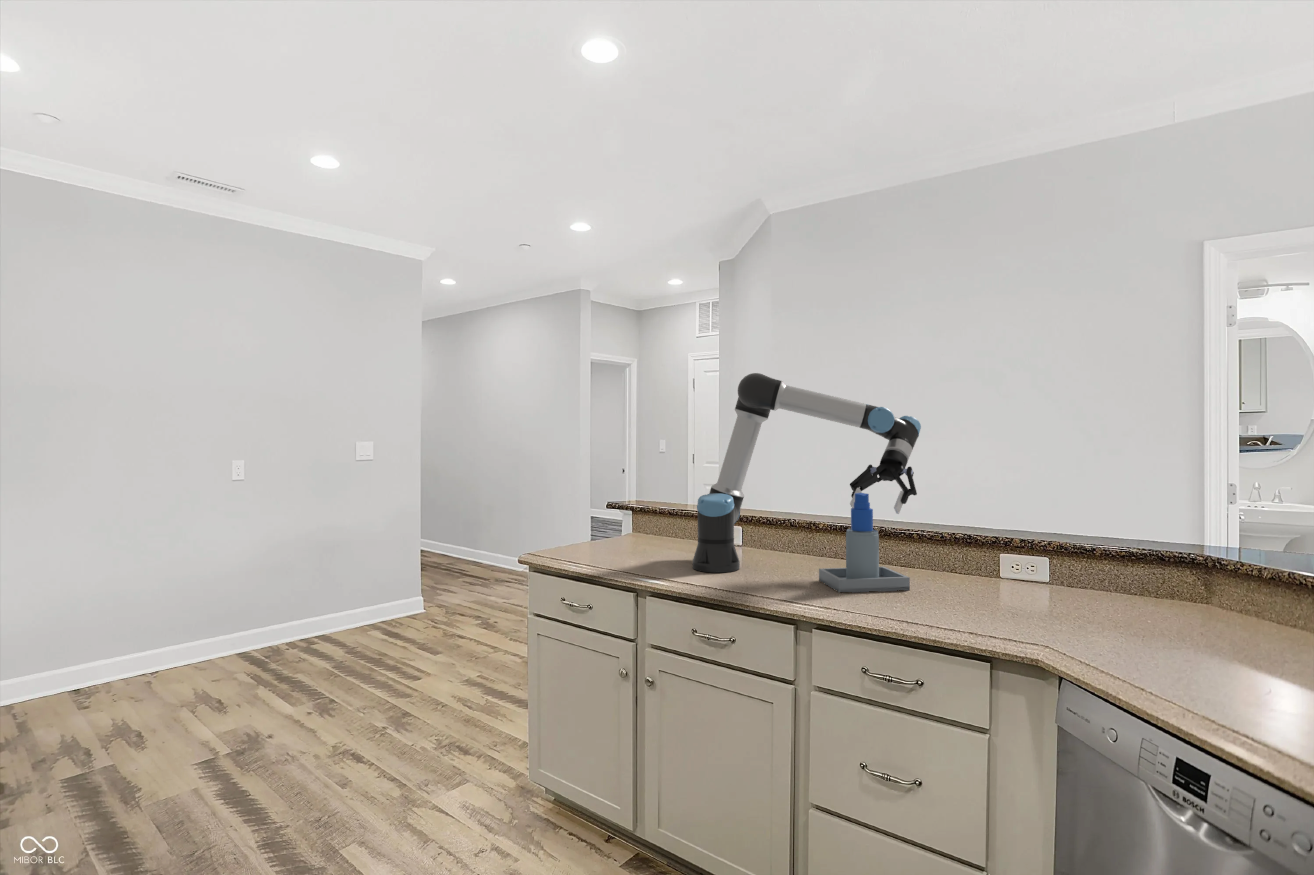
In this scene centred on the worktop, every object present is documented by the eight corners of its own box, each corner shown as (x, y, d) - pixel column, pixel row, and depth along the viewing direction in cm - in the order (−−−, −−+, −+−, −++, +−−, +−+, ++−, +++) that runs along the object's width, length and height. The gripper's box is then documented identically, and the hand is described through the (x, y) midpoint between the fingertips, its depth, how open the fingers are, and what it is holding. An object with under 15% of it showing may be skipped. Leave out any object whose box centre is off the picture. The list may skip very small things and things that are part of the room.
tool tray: (819, 580, 189) (818, 568, 189) (883, 578, 192) (883, 566, 192) (839, 592, 174) (839, 579, 174) (909, 590, 177) (909, 577, 177)
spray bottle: (843, 577, 188) (842, 492, 188) (874, 578, 187) (874, 491, 187) (849, 585, 179) (848, 494, 179) (882, 585, 178) (882, 494, 178)
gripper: (939, 466, 195) (919, 521, 185) (862, 463, 213) (839, 512, 202) (933, 449, 192) (912, 503, 181) (854, 447, 209) (831, 496, 198)
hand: (873, 508), depth 191 cm, fingers open, 13 cm apart
